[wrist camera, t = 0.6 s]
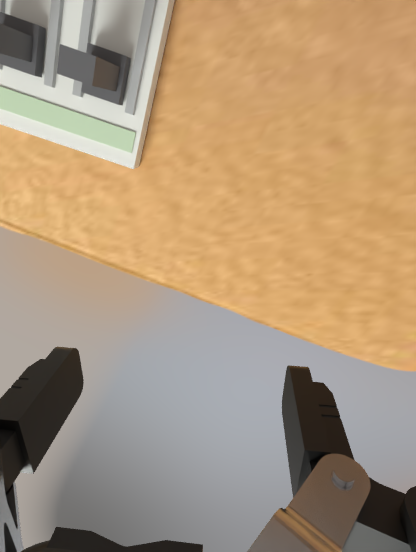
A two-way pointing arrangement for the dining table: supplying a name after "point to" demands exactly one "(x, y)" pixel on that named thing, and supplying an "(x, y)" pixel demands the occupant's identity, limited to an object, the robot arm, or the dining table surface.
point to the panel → (107, 37)
